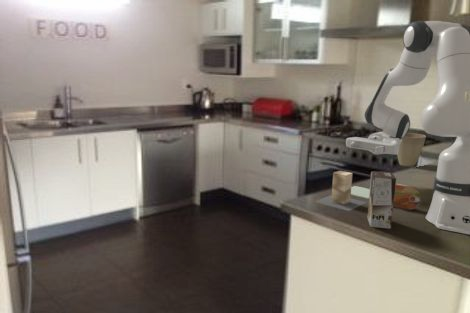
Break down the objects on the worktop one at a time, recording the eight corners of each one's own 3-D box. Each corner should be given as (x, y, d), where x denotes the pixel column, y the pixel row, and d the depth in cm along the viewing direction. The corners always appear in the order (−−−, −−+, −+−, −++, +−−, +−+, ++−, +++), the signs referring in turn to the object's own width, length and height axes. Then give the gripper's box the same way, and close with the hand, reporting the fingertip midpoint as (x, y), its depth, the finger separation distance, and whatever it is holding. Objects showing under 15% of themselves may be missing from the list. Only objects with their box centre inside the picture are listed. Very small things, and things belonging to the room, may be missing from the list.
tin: (375, 204, 151) (377, 181, 149) (378, 201, 154) (380, 180, 152) (419, 212, 143) (422, 189, 141) (421, 209, 146) (424, 186, 144)
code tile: (367, 202, 152) (367, 202, 152) (348, 211, 142) (348, 210, 142) (333, 194, 161) (333, 193, 161) (314, 202, 151) (314, 201, 151)
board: (387, 194, 163) (387, 193, 163) (374, 200, 154) (374, 199, 154) (354, 187, 172) (355, 185, 172) (340, 193, 164) (340, 191, 163)
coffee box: (391, 229, 127) (396, 178, 124) (369, 227, 128) (374, 177, 125) (387, 219, 136) (391, 171, 132) (366, 217, 137) (371, 170, 134)
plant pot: (391, 160, 225) (394, 132, 222) (421, 163, 220) (424, 133, 217) (391, 166, 212) (394, 135, 208) (423, 169, 207) (427, 138, 203)
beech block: (350, 202, 152) (352, 173, 150) (343, 205, 148) (345, 175, 146) (337, 198, 155) (340, 170, 153) (331, 201, 151) (333, 172, 149)
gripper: (355, 132, 175) (339, 136, 165) (403, 139, 161) (389, 143, 151) (354, 147, 176) (337, 151, 166) (401, 154, 162) (387, 160, 153)
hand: (362, 147), depth 159 cm, fingers open, 8 cm apart
